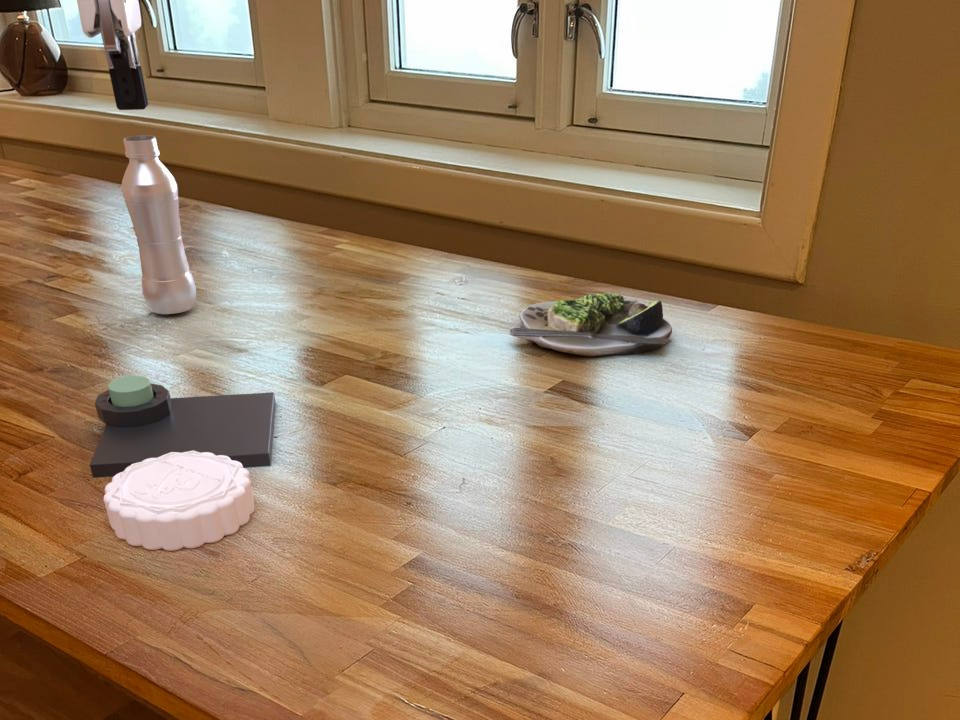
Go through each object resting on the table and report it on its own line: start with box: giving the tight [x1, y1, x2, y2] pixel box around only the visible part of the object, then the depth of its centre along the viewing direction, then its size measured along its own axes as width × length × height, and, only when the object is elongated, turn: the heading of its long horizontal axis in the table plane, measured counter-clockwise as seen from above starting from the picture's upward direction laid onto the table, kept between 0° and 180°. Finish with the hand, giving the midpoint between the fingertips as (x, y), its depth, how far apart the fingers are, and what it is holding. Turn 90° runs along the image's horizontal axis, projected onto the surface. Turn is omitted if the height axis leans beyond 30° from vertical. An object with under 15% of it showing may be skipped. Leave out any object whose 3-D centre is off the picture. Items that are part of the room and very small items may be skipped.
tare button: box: [107, 375, 154, 407], centre depth 95 cm, size 4×4×2 cm
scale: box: [89, 383, 277, 479], centre depth 93 cm, size 17×14×3 cm
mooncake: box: [103, 450, 255, 552], centre depth 81 cm, size 12×12×4 cm
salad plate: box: [509, 292, 673, 357], centre depth 114 cm, size 19×18×5 cm
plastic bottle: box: [121, 134, 197, 315], centre depth 117 cm, size 6×7×20 cm
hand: (133, 107), depth 109 cm, fingers closed
